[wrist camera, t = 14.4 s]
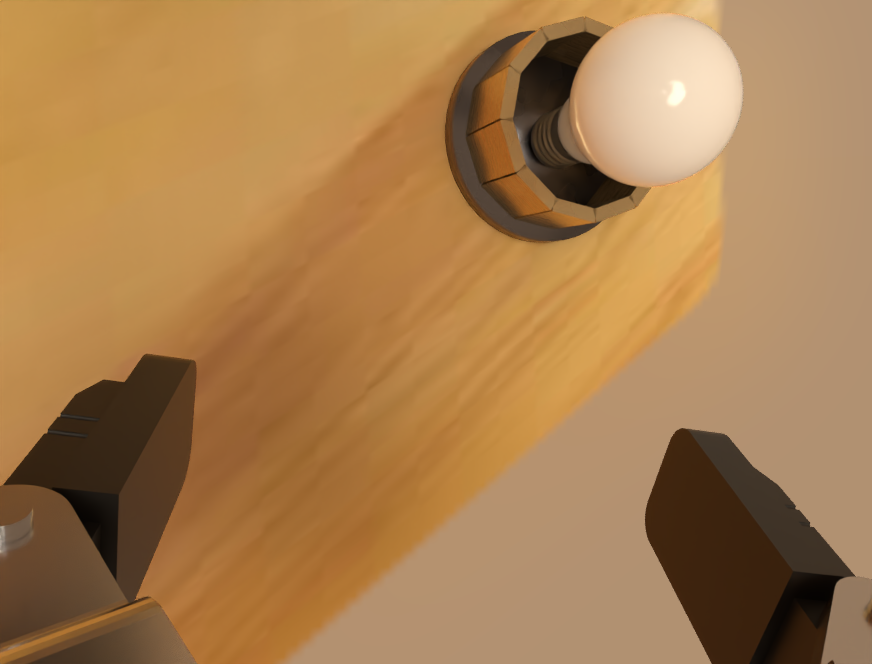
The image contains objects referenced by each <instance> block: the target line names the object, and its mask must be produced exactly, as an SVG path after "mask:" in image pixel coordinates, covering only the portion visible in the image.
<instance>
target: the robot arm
mask: <svg viewBox="0 0 872 664" xmlns="http://www.w3.org/2000/svg"><path fill="white" fill-rule="evenodd" d="M195 388H196V362H195V361H194V360H189V359H181V358H174V357H167V356H159V355H152V354H145V355H144V356H143V357H142V358H141V360H140V361H139V363H138V364H137V366H136V367H135V368H134V370H133V371H132V373H131V374H130V376H129V377H128V378H127V380H126V381H125V382H117V381H110V380H102V381H100V382H98V383H97V384H95V385H93V386H91V387H89V388H87V389H85V390H83V391H81V392H79V393H78V394H76V395H75V396H74V398H73V399H72V400H71V401H70V403H69V404H68V405H67V406H66V408H65V409H64V410H63V411H62V412H61V416H60V417H57V419H56V420H55V421H54V422H53V424H52V425H51V426H50V427H49V429H48V432H47V434H44V435H43V436H42V437H41V439H40V440H39V441H38V442H37V444H36V445H35V446H34V447H33V449H32V450H31V451H30V452H29V454H28V455H27V456H26V457H25V458H24V460H23V461H22V462H21V463H20V465H19V466H18V467H17V468H16V470H15V471H14V472H13V473H12V475H11V476H10V477H9V478H8V480H7V481H6V482H5V483H4V485H3V486H0V664H197V663H196V662H195V660H194V658H193V657H192V655H191V654H190V652H189V650H188V649H187V647H186V646H185V644H184V642H183V641H182V639H181V638H180V636H179V634H178V633H177V631H176V630H175V628H174V626H173V625H172V623H171V622H170V620H169V618H168V617H167V615H166V614H165V612H164V611H163V609H162V608H161V606H160V605H159V604H158V603H157V602H156V601H155V600H154V599H153V598H151V597H144V598H141V599H138V600H135V598H136V596H137V593H138V591H139V589H140V586H141V584H142V581H143V579H144V577H145V574H146V572H147V570H148V567H149V565H150V562H151V560H152V558H153V555H154V553H155V550H156V548H157V546H158V543H159V541H160V539H161V536H162V534H163V531H164V529H165V527H166V524H167V522H168V520H169V517H170V515H171V512H172V510H173V508H174V505H175V503H176V501H177V498H178V496H179V493H180V491H181V489H182V486H183V483H184V480H185V477H186V473H187V469H188V464H189V459H190V452H191V443H192V429H193V415H194V401H195ZM795 507H796V506H795V504H794V503H793V502H792V501H791V500H790V499H789V497H788V496H787V495H786V494H785V493H784V492H783V490H782V489H781V488H780V487H779V486H778V485H777V484H776V483H774V482H773V481H772V480H770V479H769V478H768V477H766V476H765V475H764V474H762V473H761V472H759V471H758V470H757V469H755V468H754V467H753V466H752V465H751V464H750V462H749V461H748V460H747V459H746V458H745V457H744V455H743V454H742V453H741V452H740V450H739V449H738V448H737V447H736V446H735V444H734V443H733V442H732V441H731V440H730V438H729V437H728V436H727V435H725V434H721V433H714V432H706V431H699V430H692V429H684V428H681V429H679V430H677V431H676V432H675V434H673V436H672V438H671V440H670V442H669V445H668V448H667V450H666V453H665V456H664V459H663V461H662V465H661V467H660V470H659V472H658V475H657V478H656V481H655V484H654V486H653V489H652V492H651V495H650V497H649V500H648V503H647V507H646V514H645V526H646V533H647V537H648V540H649V542H650V544H651V546H652V548H653V550H654V552H655V554H656V556H657V557H658V559H659V561H660V563H661V565H662V567H663V569H664V571H665V573H666V575H667V577H668V579H669V581H670V583H671V585H672V587H673V589H674V591H675V593H676V595H677V597H678V598H679V600H680V602H681V604H682V606H683V608H684V610H685V612H686V614H687V616H688V618H689V620H690V622H691V624H692V626H693V628H694V630H695V632H696V634H697V636H698V638H699V639H700V641H701V643H702V645H703V647H704V649H705V651H706V653H707V655H708V657H709V659H710V661H711V663H712V664H872V579H868V578H863V577H856V576H855V575H854V574H853V573H852V572H851V570H850V569H849V568H848V567H847V566H846V565H845V563H844V562H843V561H842V560H841V559H840V558H839V556H838V555H837V554H836V553H835V552H834V550H833V549H832V548H831V547H830V546H829V544H827V542H826V541H825V540H824V539H823V537H822V536H821V535H820V534H819V533H818V532H817V530H816V529H815V528H814V527H810V522H809V521H808V520H807V519H806V517H805V516H804V515H803V514H802V513H801V512H800V511H799V510H796V509H795ZM134 600H135V601H134Z"/></svg>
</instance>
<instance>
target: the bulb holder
mask: <svg viewBox="0 0 872 664" xmlns="http://www.w3.org/2000/svg"><path fill="white" fill-rule="evenodd" d="M611 29H613V27H610V26H608V25H605V24H603V23H600V22H598V21H595V20H593V19H590V18H587V17H580V18H576V19H572V20H568V21H564V22H560V23H556V24H552V25H548V26H544V27H541V28H540V29H538V30H537V31H526V32H520V33H517V34H514V35H511V36H508V37H506V38H504V39H502V40H500V41H498V42H496V43H495V44H494V45H492V46H491V47H489V48H488V49H487V50H485V51H484V52H483V53H481V54H480V55H479V56H477V57H476V58H475V59H474V60H473V61H472V62H471V63H470V64H469V66H468V67H467V68H466V70H465V71H464V72H463V74H462V75H461V77H460V79H459V80H458V82H457V84H456V86H455V88H454V91H453V93H452V96H451V99H450V102H449V107H448V111H447V118H446V148H447V155H448V159H449V163H450V167H451V170H452V173H453V176H454V178H455V181H456V183H457V185H458V187H459V189H460V191H461V193H462V194H463V196H464V197H465V199H466V200H467V202H468V203H469V205H470V206H471V207H472V208H473V209H474V210H475V212H476V213H477V214H478V215H479V216H480V217H481V218H482V219H483V220H485V221H486V222H487V223H488V224H489V225H491V226H492V227H494V228H495V229H497V230H498V231H500V232H502V233H504V234H506V235H508V236H510V237H514V238H517V239H520V240H524V241H530V242H550V241H557V240H565V239H569V238H572V237H576V236H579V235H581V234H583V233H585V232H587V231H589V230H590V229H592V228H593V227H595V226H596V225H598V224H599V223H600V222H601V221H602V220H605V219H607V218H610V217H613V216H615V215H618V214H621V213H623V212H626V211H629V210H631V209H634V208H635V207H637V206H638V205H639V203H640V202H641V201H642V199H643V198H644V197H645V195H646V194H647V193H648V191H649V190H650V189H651V187H636V186H631V185H627V184H623V183H620V182H618V181H615V180H613V179H611V178H609V177H608V176H606V175H604V174H603V173H601V172H600V171H599V170H597V169H596V168H595V167H594V166H593V165H592V164H586V163H583V162H582V163H578V164H575V165H572V166H568V167H565V168H561V169H553V168H549V167H547V166H545V165H544V164H542V163H541V162H540V161H539V160H538V158H537V157H536V155H535V154H534V152H533V149H532V145H531V132H532V129H533V126H534V124H535V122H536V121H537V120H538V118H539V117H541V116H542V115H543V114H545V113H548V112H550V111H552V110H554V109H556V108H559V107H561V106H563V105H564V103H565V102H566V100H567V99H568V98H569V97H570V91H571V87H572V83H573V80H574V77H575V74H576V72H577V70H578V68H579V66H580V64H581V62H582V60H583V59H584V57H585V55H586V54H587V53H588V51H589V50H590V49H591V47H592V46H593V45H594V44H595V43H596V42H597V41H598V40H599V39H600V38H601V37H602V36H603V35H605V34H606V33H607V32H608V31H610V30H611Z"/></svg>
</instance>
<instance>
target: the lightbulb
mask: <svg viewBox="0 0 872 664" xmlns="http://www.w3.org/2000/svg"><path fill="white" fill-rule="evenodd" d="M742 104H743V80H742V75H741V71H740V67H739V64H738V62H737V59H736V57H735V55H734V53H733V51H732V50H731V48H730V47H729V45H728V44H727V43H726V41H725V40H724V39H723V38H722V37H721V36H720V35H719V34H718V33H717V32H716V31H715V30H714V29H712V28H711V27H710V26H708V25H707V24H705V23H703V22H701V21H699V20H697V19H695V18H692V17H689V16H686V15H682V14H676V13H652V14H646V15H641V16H638V17H635V18H632V19H629V20H627V21H625V22H623V23H621V24H619V25H617V26H616V27H614V28H613V29H611V30H610V31H608V32H607V33H606V34H605V35H603V36H602V37H601V38H600V39H599V40H598V41H597V42H596V43H595V44H594V45H593V46H592V47H591V49H590V50H589V51H588V53H587V54H586V55H585V57H584V59H583V60H582V62H581V64H580V66H579V68H578V70H577V72H576V74H575V77H574V80H573V83H572V87H571V91H570V97H569V98H568V99H567V100H566V102H565V103H564V105H563V106H561V107H559V108H556V109H554V110H552V111H550V112H548V113H545V114H543V115H542V116H541V117H539V118H538V120H537V121H536V122H535V124H534V126H533V129H532V132H531V145H532V149H533V152H534V154H535V155H536V157H537V158H538V160H539V161H540V162H541V163H542V164H544V165H545V166H547V167H549V168H553V169H561V168H565V167H568V166H572V165H575V164H578V163H582V162H583V163H586V164H592V165H593V166H594V167H595V168H596V169H597V170H599V171H600V172H601V173H603V174H604V175H606V176H608V177H609V178H611V179H613V180H615V181H618V182H620V183H623V184H627V185H631V186H636V187H661V186H667V185H671V184H675V183H678V182H681V181H683V180H685V179H688V178H690V177H692V176H694V175H695V174H697V173H699V172H700V171H702V170H703V169H704V168H706V167H707V166H708V165H709V164H710V163H712V162H713V161H714V160H715V159H716V158H717V157H718V156H719V154H720V153H721V152H722V151H723V150H724V148H725V147H726V145H727V144H728V142H729V141H730V139H731V137H732V135H733V133H734V131H735V129H736V127H737V124H738V122H739V118H740V115H741V110H742Z"/></svg>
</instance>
